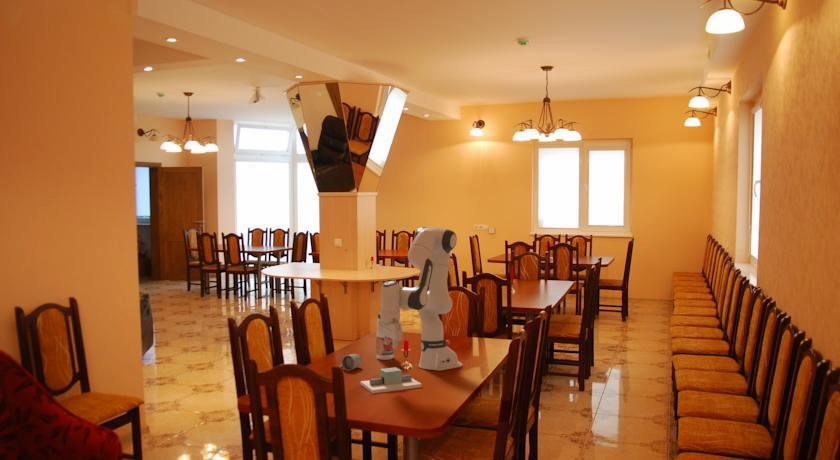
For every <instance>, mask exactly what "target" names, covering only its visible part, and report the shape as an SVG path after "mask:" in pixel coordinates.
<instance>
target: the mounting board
mask: <svg viewBox="0 0 840 460" xmlns="http://www.w3.org/2000/svg"><path fill="white" fill-rule="evenodd" d="M359 382H360V383H359V385H360V386H362V387H363V388H365V389H366V391H368V392H370V393H371V394H379V393H381V394H382V393H387V392H395V391H403V390H411V389H417V388H419V389H420V388H423V387H422V385H423V384H422V383H421V382H419V381H418V380H415V379H414V378H412V381H406V382H402V383H400V384H392V385H384V384H382V385H374V386H371V385H370V379H368V380H361V381H359Z"/></svg>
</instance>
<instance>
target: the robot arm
mask: <svg viewBox="0 0 840 460" xmlns="http://www.w3.org/2000/svg"><path fill="white" fill-rule="evenodd" d="M457 240H458V239H457V234H456V233H455V231H454V230H450V229H446V228H440V227H426V226H423V227H422V226H421V227H418V229H417V230H416V231H415V233H414V235H413V241H412V243H411V245H410V247H409V250H408V252H407V259H408V262H409V264H410V265H412V266H413V267H414V268H415V269H417V270H418V271H420V273H419V278H418V282H417V285H415V287H410V286H409V287H407V286H403V285H400V284H399V282H398V281H396V280H389V281H385V282H383V283H382V285H381V287H380V288H381V289H380V304H381V306H382V307H381V306H380V307H381V310H380V312H379V313H378V314H377V320H378V319H379V331H380V333H381V334H383V337H384V341H385V345H389V339H388V337H389V338H391V339H393V345H392V348H393V349H394V350H397V349H398V345H399V342H400V341H403V327H402V324H401V323H400V322H401V309H400V308H403V309H411V310H415V311H417V312H418V316H419V319H420V323H421V325H420V326H421V340H420V350H421V353H420V359H419V362H418V367H419V368H420V369H423V370H430V371H431V370H432V371H433V370H434V371H445V370H446V371H447V370H451V369H456V368H462V367H463V363H462V362H461V361H459V360H458V355H457V353H456V352H455V351H454V350H452V349H451V348H450V347H449V346H447V345H450V344H451V341H450V339H445V338H444V324H443V322H442V320H441V319H440V316H439V315H444V314H445V315H446V314H448V313H449V312H450V311H451V310H452V308H453V299H452V297H451V296H450V293H449V288H448V275H449V268H450V260H451V251H453V249H454V248H455V247H456V246H457Z"/></svg>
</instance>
